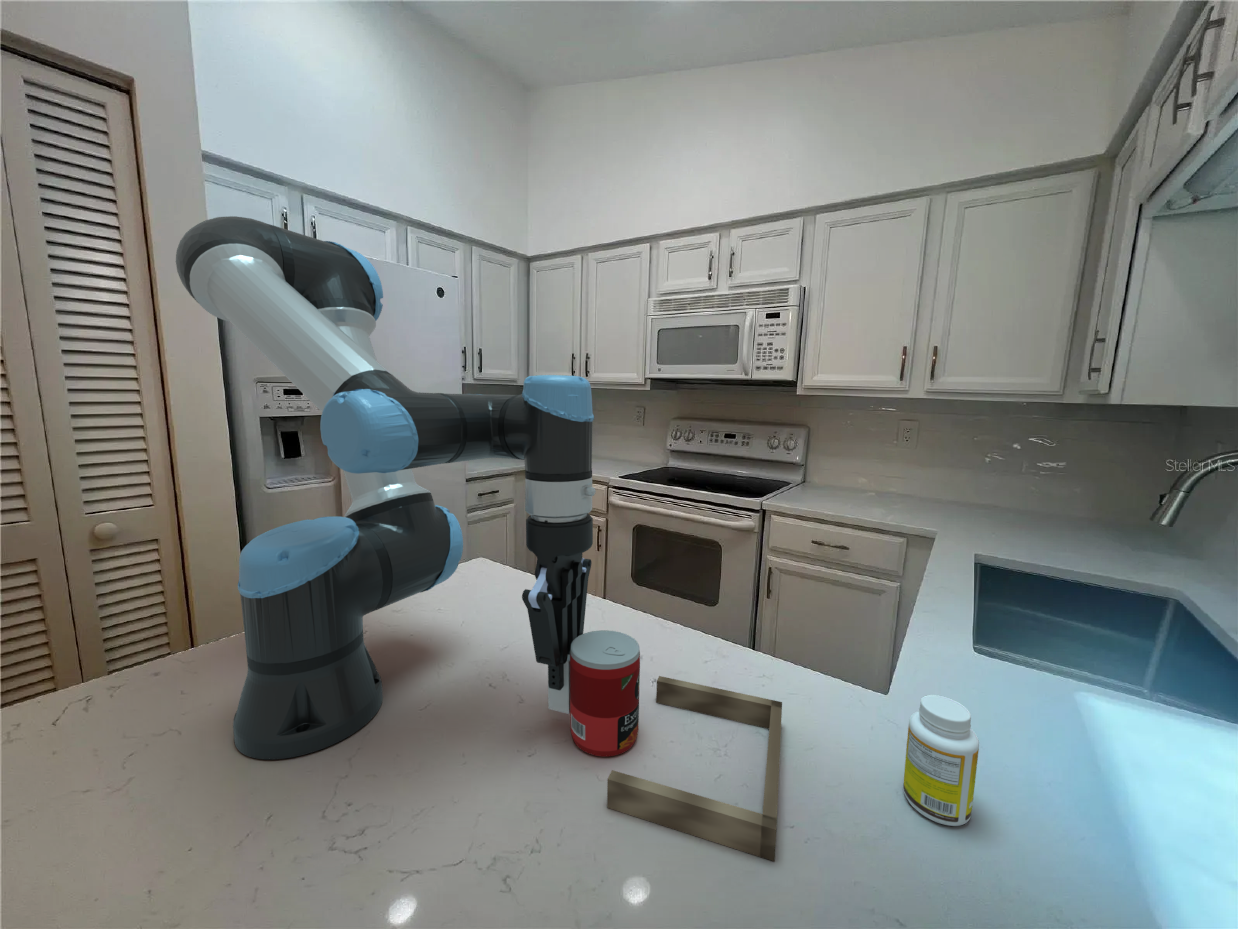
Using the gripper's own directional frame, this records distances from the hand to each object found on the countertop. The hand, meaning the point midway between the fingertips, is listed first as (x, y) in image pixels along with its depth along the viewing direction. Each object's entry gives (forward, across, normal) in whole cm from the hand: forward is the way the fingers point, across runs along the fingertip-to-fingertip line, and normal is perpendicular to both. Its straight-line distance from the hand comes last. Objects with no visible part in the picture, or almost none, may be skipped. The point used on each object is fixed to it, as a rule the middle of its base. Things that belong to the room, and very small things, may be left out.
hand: (561, 707), depth 57 cm
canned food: (+2, 0, -6) cm, 6 cm away
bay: (+2, 0, -18) cm, 18 cm away
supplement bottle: (+3, +3, -39) cm, 39 cm away
